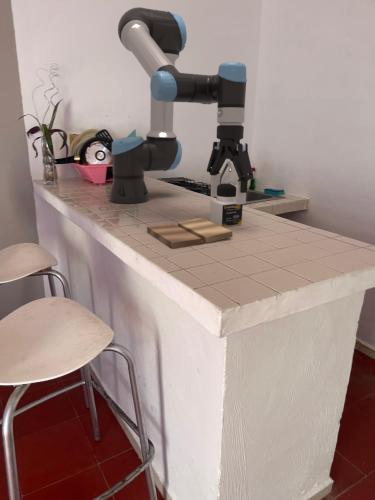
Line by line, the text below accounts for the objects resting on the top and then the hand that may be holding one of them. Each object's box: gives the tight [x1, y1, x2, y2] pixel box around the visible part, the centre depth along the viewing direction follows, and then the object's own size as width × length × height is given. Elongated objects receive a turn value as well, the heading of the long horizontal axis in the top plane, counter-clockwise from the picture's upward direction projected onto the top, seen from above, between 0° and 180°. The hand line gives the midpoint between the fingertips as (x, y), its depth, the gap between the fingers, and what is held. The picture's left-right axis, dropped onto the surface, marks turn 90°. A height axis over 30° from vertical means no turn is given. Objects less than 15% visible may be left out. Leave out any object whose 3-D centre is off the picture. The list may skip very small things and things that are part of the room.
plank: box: [177, 217, 233, 244], centre depth 103 cm, size 16×8×2 cm, turn 28°
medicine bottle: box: [209, 183, 244, 228], centre depth 111 cm, size 7×7×12 cm
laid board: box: [146, 223, 206, 250], centre depth 99 cm, size 16×9×2 cm, turn 28°
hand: (227, 200), depth 110 cm, fingers open, 13 cm apart
